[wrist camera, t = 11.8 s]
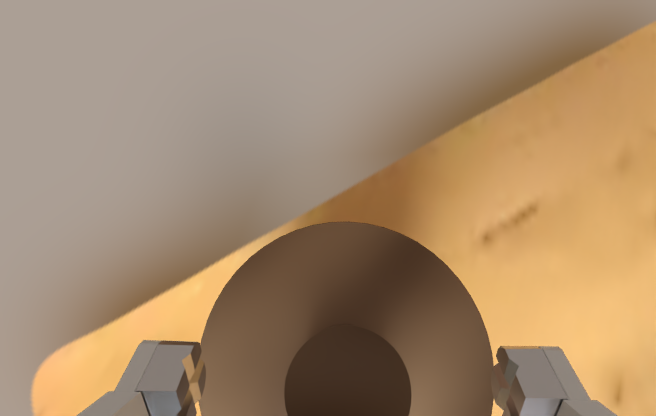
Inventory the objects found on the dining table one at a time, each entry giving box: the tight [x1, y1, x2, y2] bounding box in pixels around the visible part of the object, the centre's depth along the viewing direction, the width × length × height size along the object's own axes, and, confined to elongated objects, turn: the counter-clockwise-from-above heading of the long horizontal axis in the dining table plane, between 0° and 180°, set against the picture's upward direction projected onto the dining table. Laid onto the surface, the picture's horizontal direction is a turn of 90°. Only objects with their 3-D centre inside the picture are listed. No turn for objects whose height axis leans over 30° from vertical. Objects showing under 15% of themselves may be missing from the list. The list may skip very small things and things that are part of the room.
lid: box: [199, 222, 494, 416], centre depth 14 cm, size 11×11×7 cm
